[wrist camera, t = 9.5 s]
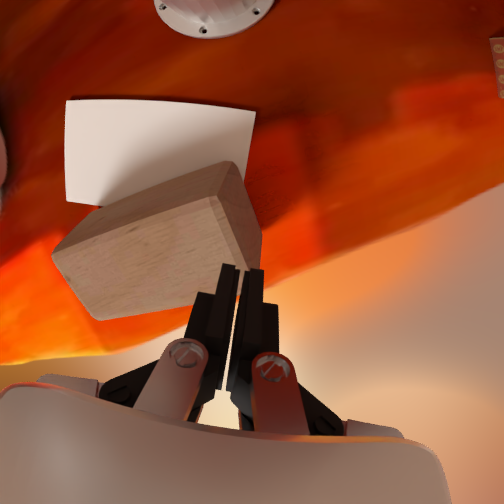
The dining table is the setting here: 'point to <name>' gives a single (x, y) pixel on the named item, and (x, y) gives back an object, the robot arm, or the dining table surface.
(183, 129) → the white mat
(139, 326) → the dining table surface
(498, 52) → the carton
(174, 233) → the wooden block
